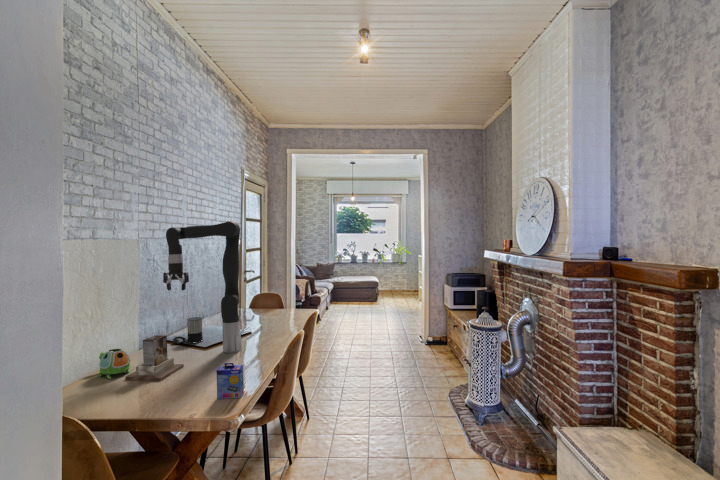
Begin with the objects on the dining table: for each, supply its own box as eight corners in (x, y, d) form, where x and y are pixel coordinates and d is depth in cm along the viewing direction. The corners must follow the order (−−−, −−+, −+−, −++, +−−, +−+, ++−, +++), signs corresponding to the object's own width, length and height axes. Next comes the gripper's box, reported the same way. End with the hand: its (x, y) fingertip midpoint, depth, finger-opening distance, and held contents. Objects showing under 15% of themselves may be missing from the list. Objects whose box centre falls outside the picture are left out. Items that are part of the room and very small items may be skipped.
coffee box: (156, 366, 188) (156, 334, 188) (168, 367, 187) (167, 335, 186) (143, 373, 179) (142, 340, 179) (154, 373, 178) (153, 340, 177)
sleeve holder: (183, 366, 191) (183, 356, 191) (161, 380, 173) (160, 369, 173) (150, 366, 193) (150, 355, 193) (125, 379, 175) (125, 368, 175)
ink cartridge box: (216, 399, 152) (215, 364, 152) (220, 393, 158) (219, 360, 157) (241, 398, 153) (240, 363, 153) (244, 392, 159) (243, 358, 158)
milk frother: (206, 340, 238) (205, 317, 237) (182, 347, 224) (182, 323, 224) (193, 337, 245) (192, 315, 245) (169, 343, 232) (169, 320, 232)
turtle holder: (115, 366, 193) (114, 343, 193) (136, 372, 185) (135, 348, 184) (88, 374, 182) (88, 350, 182) (109, 381, 174) (108, 355, 174)
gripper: (190, 261, 216) (191, 289, 217) (168, 261, 218) (168, 289, 218) (183, 262, 209) (184, 291, 209) (159, 262, 211) (160, 291, 211)
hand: (176, 290), depth 214 cm, fingers open, 8 cm apart
